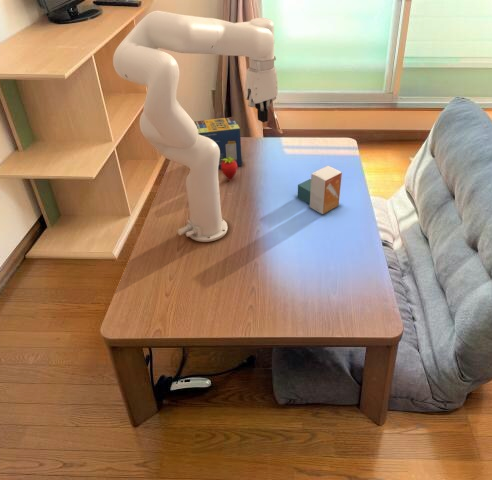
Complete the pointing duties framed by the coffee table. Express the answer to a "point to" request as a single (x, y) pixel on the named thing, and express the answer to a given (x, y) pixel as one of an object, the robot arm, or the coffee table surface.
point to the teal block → (304, 191)
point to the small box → (325, 189)
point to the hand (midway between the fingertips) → (262, 120)
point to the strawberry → (229, 167)
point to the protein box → (223, 137)
